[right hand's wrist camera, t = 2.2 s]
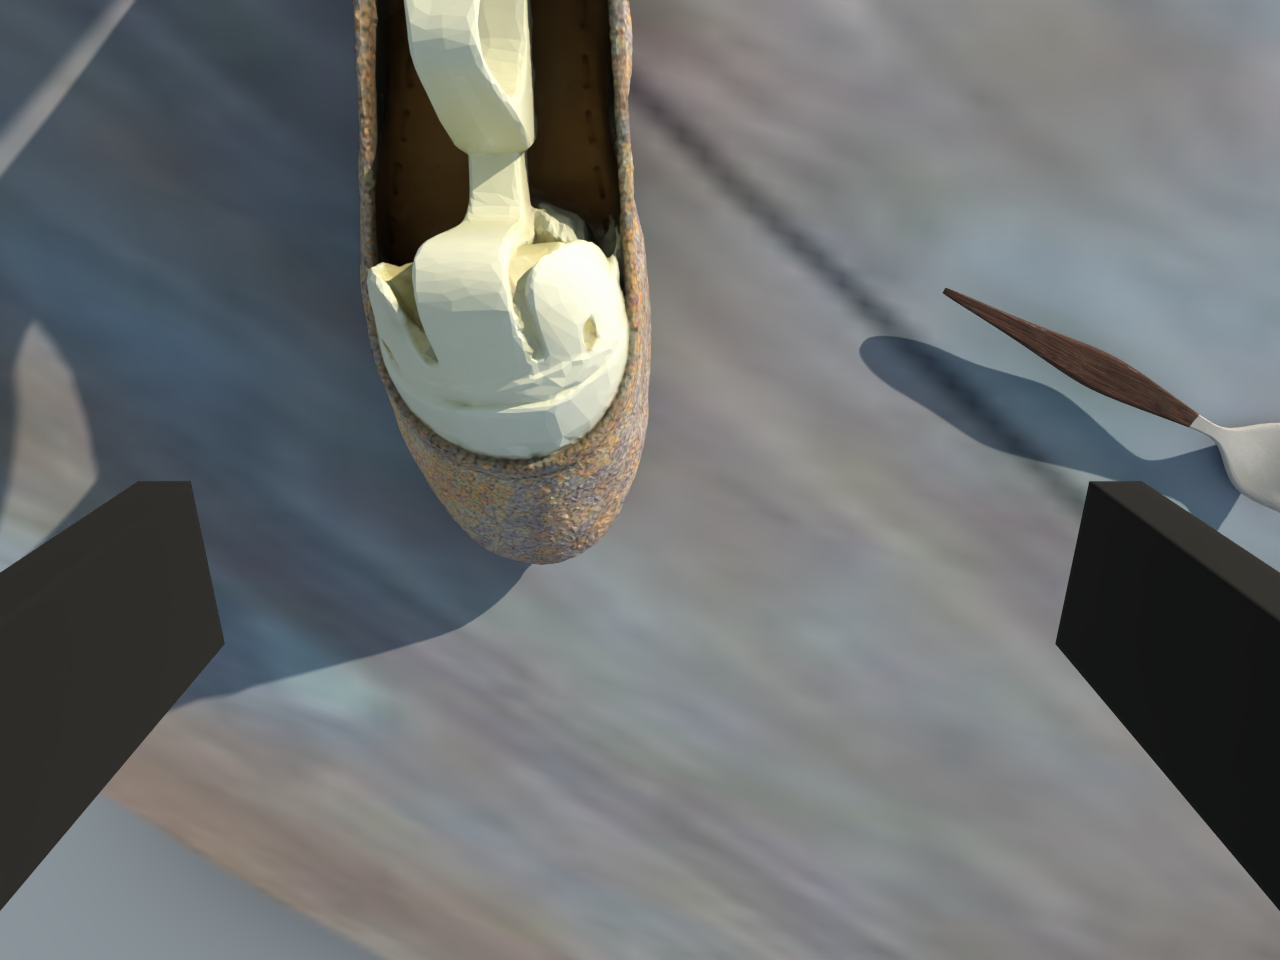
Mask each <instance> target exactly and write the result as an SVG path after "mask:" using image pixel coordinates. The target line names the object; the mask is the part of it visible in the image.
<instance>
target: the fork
mask: <svg viewBox="0 0 1280 960" xmlns="http://www.w3.org/2000/svg"><path fill="white" fill-rule="evenodd" d="M943 294H945V295H946V296H948V297H949V298H951V299H952V300H954V301H955V302H957V303H958V304H960V305H962V306H963V307H965V308H966V309H968V310H970V311H971V312H973V313H974V314H976V315H977V316H979V317H981V318H982V319H984V320H985V321H987V322H988V323H990V324H992V325H993V326H995V327H996V328H998V329H999V330H1001V331H1002V332H1004V333H1005V334H1007V335H1008V336H1010V337H1012V338H1013V339H1015V340H1016V341H1018V342H1019V343H1021V344H1022V345H1024V346H1025V347H1026V348H1028V349H1029V350H1031V351H1032V352H1034V353H1035V354H1037V355H1038V356H1040V357H1041V358H1042V359H1044V360H1045V361H1047V362H1048V363H1050V364H1051V365H1053V366H1054V367H1056V368H1057V369H1059V370H1060V371H1062V372H1063V373H1065V374H1066V375H1068V376H1069V377H1071V378H1072V379H1074V380H1076V381H1077V382H1079V383H1081V384H1082V385H1084V386H1086V387H1088V388H1090V389H1092V390H1094V391H1096V392H1098V393H1101V394H1103V395H1105V396H1108V397H1110V398H1112V399H1115V400H1117V401H1120V402H1122V403H1125V404H1128V405H1130V406H1133V407H1136V408H1138V409H1141V410H1144V411H1146V412H1149V413H1152V414H1155V415H1157V416H1160V417H1163V418H1165V419H1168V420H1171V421H1173V422H1176V423H1179V424H1181V425H1184V426H1187V427H1189V428H1192V429H1194V430H1197V431H1199V432H1201V433H1203V434H1205V435H1207V436H1209V437H1210V438H1212V439H1213V440H1214V442H1215V443H1216V444H1217V446H1218V448H1219V451H1220V454H1221V457H1222V460H1223V463H1224V467H1225V470H1226V473H1227V475H1228V477H1229V479H1230V481H1231V482H1232V484H1233V485H1234V486H1235V488H1236V489H1237V490H1238V491H1239V492H1241V493H1242V494H1243V495H1245V496H1246V497H1248V498H1250V499H1251V500H1253V501H1255V502H1257V503H1259V504H1262V505H1264V506H1266V507H1269V508H1271V509H1273V510H1275V511H1278V512H1280V423H1264V424H1257V425H1251V426H1245V427H1237V428H1225V427H1220V426H1218V425H1215V424H1213V423H1212V422H1210V421H1208V420H1207V419H1205V418H1204V417H1202V416H1201V415H1199V414H1198V413H1196V412H1195V411H1194V410H1192V409H1191V408H1189V407H1188V406H1187V405H1185V404H1184V403H1182V402H1181V401H1180V400H1178V399H1177V398H1175V397H1174V396H1173V395H1171V394H1170V393H1168V392H1167V391H1166V390H1164V389H1163V388H1162V387H1160V386H1159V385H1157V384H1156V383H1155V382H1153V381H1152V380H1150V379H1149V378H1147V377H1146V376H1145V375H1143V374H1142V373H1140V372H1139V371H1137V370H1136V369H1134V368H1132V367H1131V366H1129V365H1128V364H1126V363H1125V362H1123V361H1121V360H1119V359H1118V358H1116V357H1114V356H1112V355H1110V354H1108V353H1106V352H1104V351H1101V350H1099V349H1097V348H1094V347H1092V346H1090V345H1087V344H1085V343H1082V342H1080V341H1077V340H1074V339H1072V338H1069V337H1066V336H1064V335H1061V334H1058V333H1056V332H1053V331H1050V330H1048V329H1045V328H1043V327H1040V326H1037V325H1035V324H1032V323H1030V322H1027V321H1025V320H1022V319H1020V318H1017V317H1015V316H1012V315H1010V314H1008V313H1005V312H1003V311H1000V310H998V309H996V308H993V307H991V306H989V305H986V304H984V303H981V302H979V301H977V300H974V299H972V298H970V297H967V296H965V295H963V294H960V293H958V292H956V291H953V290H951V289H948V288H945V290H944V291H943Z"/></svg>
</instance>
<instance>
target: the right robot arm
mask: <svg viewBox="0 0 1280 960" xmlns="http://www.w3.org/2000/svg"><path fill="white" fill-rule="evenodd" d="M223 645H224V639H223V634H222V629H221V625H220V620H219V615H218V610H217V605H216V601H215V596H214V591H213V586H212V581H211V577H210V572H209V567H208V562H207V557H206V553H205V548H204V543H203V538H202V534H201V529H200V524H199V519H198V514H197V510H196V505H195V500H194V495H193V490H192V486H191V481H138V482H137V483H135V484H134V485H132V486H131V487H129V488H128V489H126V490H125V491H123V492H121V493H120V494H118V495H117V496H115V497H114V498H112V499H111V500H109V501H108V502H106V503H105V504H103V505H102V506H100V507H99V508H97V509H96V510H94V511H93V512H91V513H90V514H88V515H87V516H85V517H84V518H82V519H81V520H79V521H78V522H76V523H75V524H73V525H72V526H70V527H69V528H67V529H66V530H64V531H63V532H61V533H60V534H58V535H56V536H55V537H53V538H52V539H50V540H49V541H47V542H46V543H44V544H43V545H41V546H40V547H38V548H37V549H35V550H34V551H32V552H31V553H29V554H28V555H26V556H25V557H23V558H22V559H20V560H19V561H17V562H16V563H14V564H13V565H11V566H10V567H8V568H7V569H5V570H4V571H2V572H1V573H0V910H1V909H2V908H3V907H4V906H5V904H6V903H7V902H8V901H9V900H10V898H11V897H12V896H13V895H14V894H15V893H16V891H17V890H18V889H19V888H20V887H21V885H22V884H23V883H24V882H25V881H26V880H27V878H28V877H29V876H30V875H31V874H32V872H33V871H34V870H35V869H36V868H37V866H38V865H39V864H40V863H41V862H42V860H43V859H44V858H45V857H46V856H47V855H48V853H49V852H50V851H51V850H52V848H53V847H54V846H55V845H56V844H57V843H58V841H59V840H60V839H61V838H62V837H63V835H64V834H65V833H66V832H67V831H68V830H69V828H70V827H71V826H72V825H73V824H74V822H75V821H76V820H77V819H78V818H79V816H80V815H81V814H82V813H83V812H84V810H85V809H86V808H87V807H88V806H89V805H90V803H91V802H92V801H93V800H94V799H95V797H96V796H97V795H98V794H99V793H100V791H101V790H102V789H103V788H104V787H105V786H106V784H107V783H108V782H109V781H110V780H111V778H112V777H113V776H114V775H115V774H116V772H117V771H118V770H119V769H120V768H121V766H122V765H123V764H124V763H125V762H126V761H127V759H128V758H129V757H130V756H131V755H132V753H133V752H134V751H135V750H136V749H137V747H138V746H139V745H140V744H141V743H142V741H143V740H144V739H145V738H146V737H147V736H148V734H149V733H150V732H151V731H152V730H153V728H154V727H155V726H156V725H157V724H158V722H159V721H160V720H161V719H162V718H163V716H164V715H165V714H166V713H167V712H168V711H169V709H170V708H171V707H172V706H173V705H174V703H175V702H176V701H177V700H178V699H179V697H180V696H181V695H182V694H183V693H184V692H185V690H186V689H187V688H188V687H189V686H190V684H191V683H192V682H193V681H194V680H195V678H196V677H197V676H198V675H199V674H200V672H201V671H202V670H203V669H204V668H205V667H206V665H207V664H208V663H209V662H210V661H211V659H212V658H213V657H214V656H215V655H216V653H217V652H218V651H219V650H220V649H221V647H222V646H223ZM1056 645H1057V646H1058V647H1059V649H1060V650H1061V651H1062V652H1063V653H1064V655H1065V656H1066V657H1067V658H1068V659H1069V661H1070V662H1071V663H1072V664H1073V665H1074V667H1075V668H1076V669H1077V670H1078V671H1079V672H1080V674H1081V675H1082V676H1083V677H1084V678H1085V680H1086V681H1087V682H1088V683H1089V684H1090V686H1091V687H1092V688H1093V689H1094V690H1095V692H1096V693H1097V694H1098V695H1099V696H1100V697H1101V699H1102V700H1103V701H1104V702H1105V703H1106V705H1107V706H1108V707H1109V708H1110V709H1111V711H1112V712H1113V713H1114V714H1115V715H1116V717H1117V718H1118V719H1119V720H1120V721H1121V722H1122V724H1123V725H1124V726H1125V727H1126V728H1127V730H1128V731H1129V732H1130V733H1131V734H1132V736H1133V737H1134V738H1135V739H1136V740H1137V741H1138V743H1139V744H1140V745H1141V746H1142V747H1143V749H1144V750H1145V751H1146V752H1147V753H1148V755H1149V756H1150V757H1151V758H1152V759H1153V761H1154V762H1155V763H1156V764H1157V765H1158V766H1159V768H1160V769H1161V770H1162V771H1163V772H1164V774H1165V775H1166V776H1167V777H1168V778H1169V780H1170V781H1171V782H1172V783H1173V784H1174V786H1175V787H1176V788H1177V789H1178V790H1179V791H1180V793H1181V794H1182V795H1183V796H1184V797H1185V799H1186V800H1187V801H1188V802H1189V803H1190V805H1191V806H1192V807H1193V808H1194V809H1195V811H1196V812H1197V813H1198V814H1199V815H1200V816H1201V818H1202V819H1203V820H1204V821H1205V822H1206V824H1207V825H1208V826H1209V827H1210V828H1211V830H1212V831H1213V832H1214V833H1215V834H1216V835H1217V837H1218V838H1219V839H1220V840H1221V841H1222V843H1223V844H1224V845H1225V846H1226V847H1227V849H1228V850H1229V851H1230V852H1231V853H1232V855H1233V856H1234V857H1235V858H1236V859H1237V860H1238V862H1239V863H1240V864H1241V865H1242V866H1243V868H1244V869H1245V870H1246V871H1247V872H1248V874H1249V875H1250V876H1251V877H1252V878H1253V880H1254V881H1255V882H1256V883H1257V884H1258V885H1259V887H1260V888H1261V889H1262V890H1263V891H1264V893H1265V894H1266V895H1267V896H1268V897H1269V899H1270V900H1271V901H1272V902H1273V903H1274V905H1275V906H1276V907H1277V908H1278V909H1279V910H1280V573H1279V572H1278V571H1276V570H1275V569H1273V568H1272V567H1270V566H1269V565H1267V564H1266V563H1264V562H1263V561H1261V560H1260V559H1258V558H1257V557H1255V556H1254V555H1252V554H1251V553H1249V552H1248V551H1246V550H1245V549H1243V548H1242V547H1240V546H1239V545H1237V544H1236V543H1234V542H1233V541H1231V540H1230V539H1228V538H1227V537H1225V536H1224V535H1222V534H1220V533H1219V532H1217V531H1216V530H1214V529H1213V528H1211V527H1210V526H1208V525H1207V524H1205V523H1204V522H1202V521H1201V520H1199V519H1198V518H1196V517H1195V516H1193V515H1192V514H1190V513H1189V512H1187V511H1186V510H1184V509H1183V508H1181V507H1180V506H1178V505H1177V504H1175V503H1174V502H1172V501H1171V500H1169V499H1168V498H1166V497H1165V496H1163V495H1162V494H1160V493H1158V492H1157V491H1155V490H1154V489H1152V488H1151V487H1149V486H1148V485H1146V484H1145V483H1143V482H1142V481H1089V486H1088V490H1087V495H1086V500H1085V505H1084V510H1083V514H1082V519H1081V524H1080V529H1079V534H1078V538H1077V543H1076V548H1075V553H1074V557H1073V562H1072V567H1071V572H1070V577H1069V581H1068V586H1067V591H1066V596H1065V601H1064V605H1063V610H1062V615H1061V620H1060V625H1059V629H1058V634H1057V639H1056Z"/></svg>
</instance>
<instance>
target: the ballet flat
mask: <svg viewBox="0 0 1280 960" xmlns="http://www.w3.org/2000/svg"><path fill="white" fill-rule="evenodd" d="M352 4H353V7H354V10H353V14H354V32H355V60H356V74H357V87H358V116H359V145H360V150H359V158H358V178H359V191H360V195H359V198H360V248H361V255H360V257H361V262H360V286H361V293H362V298H363V304H364V311H365V315H366V320H367V326H368V336H369V342H370V346H371V350H372V353H373V357H374V360H375V364H376V367H377V370H378V373H379V375H380V377H381V380H382V382H383V383H384V386H385V388H386V391H387V393H388V396H389V399H390V402H391V404H392V407H393V410H394V413H395V416H396V419H397V423H398V427H399V429H400V432H401V434H402V436H403V439H404V441H405V443H406V445H407V447H408V449H409V451H410V454H411V455H412V457H413V459H414V460H415V462H416V463H417V464H418V466H419V468H420V470H421V472H422V473H423V475H424V477H425V478H426V480H427V482H428V484H429V486H430V487H431V488H432V490H433V491H434V493H435V494H436V496H437V497H438V499H439V500H440V501H441V502H442V504H443V505H444V507H445V508H446V509H447V511H448V512H449V513H450V515H451V516H452V518H453V519H454V520H455V521H456V522H457V523H458V524H459V525H460V527H461V528H462V529H463V531H464V532H465V533H466V534H467V535H468V536H469V537H470V538H471V539H472V540H474V541H475V542H476V543H477V544H478V545H480V546H481V547H483V548H485V549H486V550H488V551H490V552H492V553H494V554H496V555H498V556H501V557H504V558H508V559H512V560H516V561H519V562H523V563H531V564H540V565H542V564H553V563H559V562H563V561H565V560H567V559H569V558H573V557H576V556H577V555H579V554H581V553H583V552H584V551H585V550H587V549H588V548H590V547H591V546H593V545H594V544H595V543H597V542H598V541H599V540H600V539H601V538H602V537H603V536H604V535H605V534H606V533H607V531H608V530H609V529H610V527H611V525H612V524H613V522H614V521H615V518H616V517H617V515H618V514H619V512H620V510H621V508H622V505H623V503H624V501H625V499H626V497H627V495H628V492H629V490H630V488H631V485H632V483H633V480H634V478H635V475H636V471H637V468H638V465H639V461H640V458H641V454H642V450H643V445H644V440H645V435H646V429H647V422H648V415H649V413H648V387H649V376H650V357H651V307H650V298H649V284H648V274H647V267H646V253H645V245H644V236H643V233H642V229H641V225H640V221H639V216H638V213H637V209H636V204H635V201H634V197H633V195H634V185H633V169H634V167H633V162H632V159H633V157H632V152H631V143H630V122H629V111H628V94H629V87H630V78H631V72H632V52H633V48H632V24H631V16H630V8H629V1H628V0H353V2H352Z"/></svg>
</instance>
